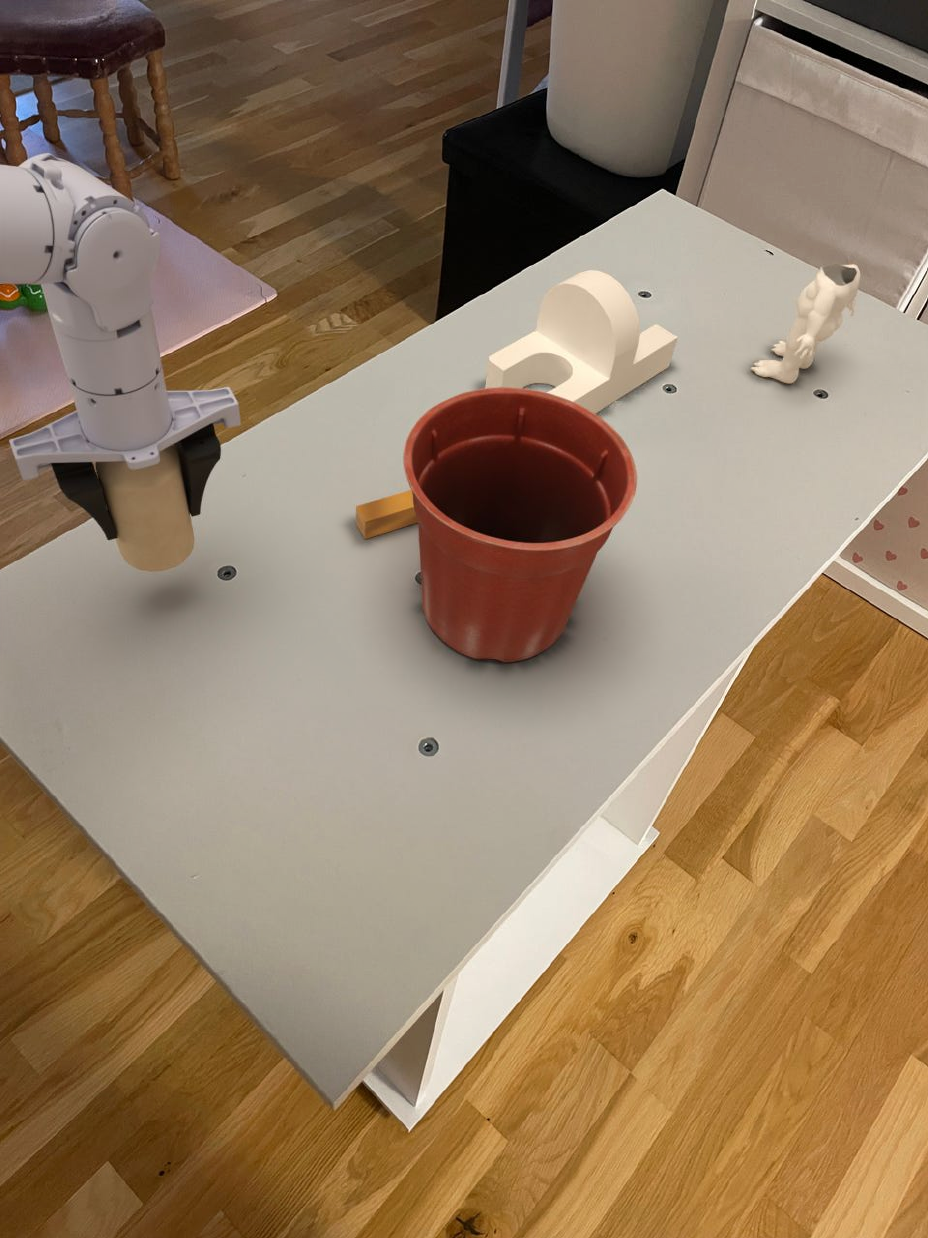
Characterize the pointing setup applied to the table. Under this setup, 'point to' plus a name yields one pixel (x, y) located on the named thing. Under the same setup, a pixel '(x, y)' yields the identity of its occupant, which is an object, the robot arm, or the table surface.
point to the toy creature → (813, 321)
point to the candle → (149, 511)
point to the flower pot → (511, 514)
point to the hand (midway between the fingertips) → (150, 518)
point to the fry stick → (386, 514)
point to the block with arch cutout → (585, 345)
